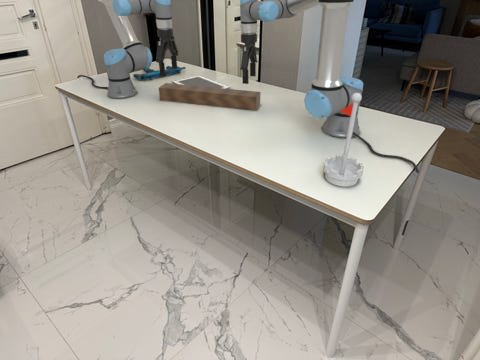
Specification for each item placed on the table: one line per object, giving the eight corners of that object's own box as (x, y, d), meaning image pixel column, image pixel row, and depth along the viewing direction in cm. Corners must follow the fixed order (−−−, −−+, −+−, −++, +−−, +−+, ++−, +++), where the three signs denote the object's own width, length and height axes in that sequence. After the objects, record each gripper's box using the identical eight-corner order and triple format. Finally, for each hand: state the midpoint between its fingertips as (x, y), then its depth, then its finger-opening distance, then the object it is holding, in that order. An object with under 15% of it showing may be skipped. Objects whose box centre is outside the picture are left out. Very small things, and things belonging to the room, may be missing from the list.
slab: (260, 104, 177) (260, 91, 173) (256, 110, 170) (256, 97, 166) (167, 95, 190) (165, 82, 186) (160, 100, 183) (158, 87, 179)
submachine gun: (171, 61, 241) (190, 66, 224) (171, 66, 243) (190, 72, 226) (125, 69, 222) (142, 76, 205) (126, 75, 224) (143, 82, 207)
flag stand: (345, 165, 124) (361, 84, 108) (368, 183, 114) (390, 97, 98) (314, 171, 121) (326, 88, 104) (336, 191, 110) (352, 103, 94)
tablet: (172, 82, 209) (172, 81, 209) (199, 75, 220) (199, 75, 220) (202, 95, 189) (202, 94, 188) (230, 87, 200) (230, 87, 200)
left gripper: (169, 23, 176) (173, 64, 188) (144, 32, 156) (150, 78, 168) (182, 24, 175) (185, 66, 187) (159, 33, 155) (164, 79, 167)
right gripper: (248, 29, 167) (248, 73, 178) (232, 37, 146) (234, 86, 157) (263, 29, 165) (262, 73, 176) (249, 37, 144) (249, 87, 155)
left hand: (168, 71), depth 178 cm, fingers open, 13 cm apart
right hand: (249, 79), depth 167 cm, fingers open, 13 cm apart
